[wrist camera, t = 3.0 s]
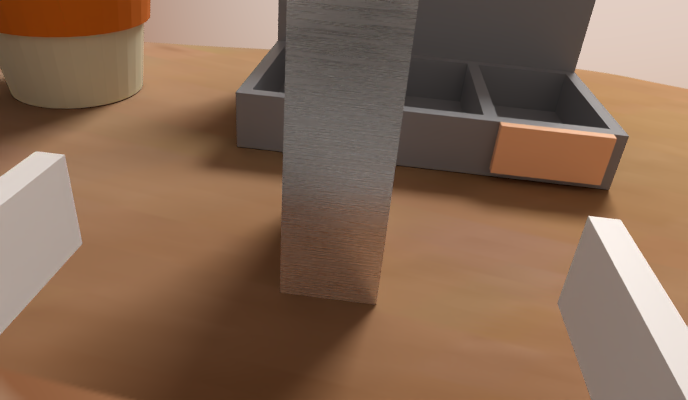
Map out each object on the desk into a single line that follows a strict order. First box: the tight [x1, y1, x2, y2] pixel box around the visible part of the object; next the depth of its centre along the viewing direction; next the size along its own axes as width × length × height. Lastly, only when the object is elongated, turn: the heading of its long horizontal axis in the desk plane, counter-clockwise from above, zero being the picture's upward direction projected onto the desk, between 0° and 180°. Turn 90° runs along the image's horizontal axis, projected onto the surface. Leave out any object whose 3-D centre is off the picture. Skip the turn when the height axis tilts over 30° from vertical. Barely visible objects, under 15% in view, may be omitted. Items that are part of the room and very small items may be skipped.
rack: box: [236, 0, 629, 190], centre depth 35 cm, size 23×14×14 cm, turn 84°
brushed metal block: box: [280, 0, 419, 305], centre depth 23 cm, size 4×8×12 cm, turn 174°
